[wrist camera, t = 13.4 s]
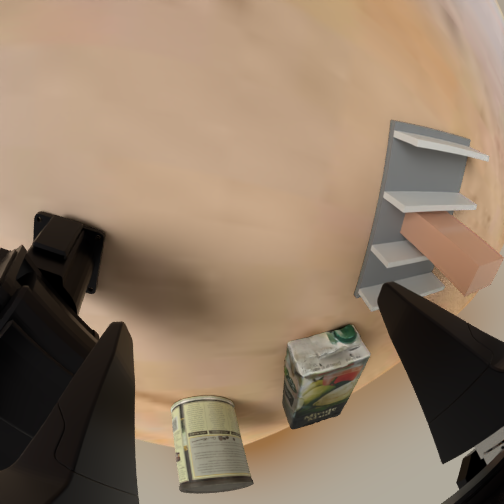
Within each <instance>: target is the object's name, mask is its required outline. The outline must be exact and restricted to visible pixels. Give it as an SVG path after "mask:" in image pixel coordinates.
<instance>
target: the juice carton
mask: <svg viewBox="0 0 504 504" xmlns="http://www.w3.org/2000/svg"><path fill="white" fill-rule="evenodd" d="M360 337H361V336H360V334H359V333H358V331H357V330H356V329H355V327H354V325H350V324H349V325H347V326H345V327H344V328H342V329H339V330H334V331H331V332H324V333H321V334H317V335H314V336H311V337H308V338H302V339H297V340H293V341H289V342H288V348H287V355H286V357H285V366H284V373H285V374H284V390H283V401H282V404H283V408H284V411H285V414H286V417H287V420H288V423H289V425H290V428H291V429H297V428H300V427H304V426H307V425H311V424H313V423H315V422H320V421H321V420H325V419H328V418H331V417H336V416H338V415H339V414H340V413H341V411H342V409H343V407H344V405H345V404H346V403H347V400H348V399H349V397H350V395H351V393H352V391H353V389H354V387H355V385H356V383H357V381H358V379H359V377H360V375H361V373H362V371H363V370H364V368H365V365H366V363H367V361H368V359H369V357H370V355H371V354H370V352H369V350H368V349H367V348H366V346H365V344H364V343H363V342H362V340H361V338H360Z"/></svg>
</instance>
